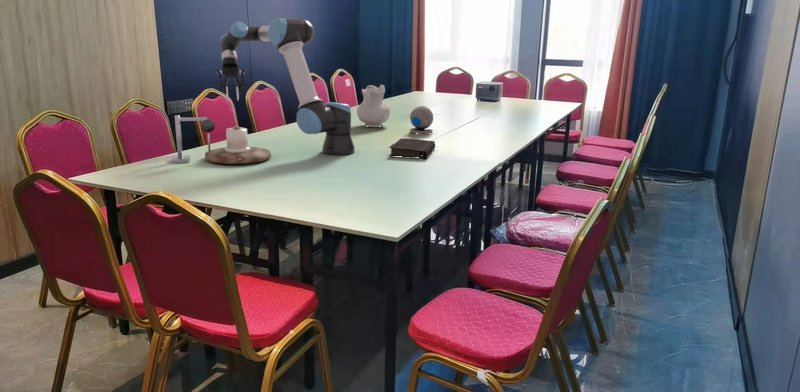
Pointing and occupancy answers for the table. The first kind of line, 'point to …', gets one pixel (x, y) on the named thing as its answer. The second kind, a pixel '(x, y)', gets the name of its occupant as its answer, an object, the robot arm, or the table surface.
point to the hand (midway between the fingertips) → (232, 99)
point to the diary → (412, 148)
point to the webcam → (421, 120)
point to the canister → (237, 140)
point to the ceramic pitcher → (373, 107)
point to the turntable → (238, 156)
